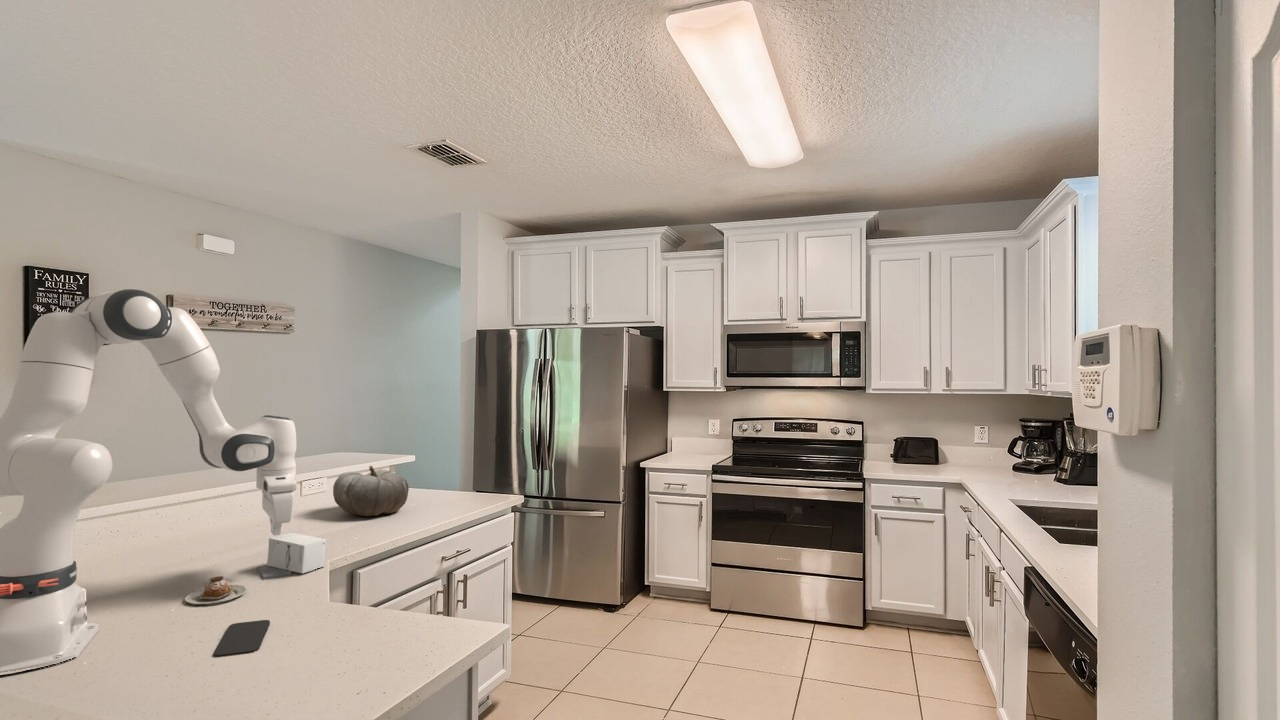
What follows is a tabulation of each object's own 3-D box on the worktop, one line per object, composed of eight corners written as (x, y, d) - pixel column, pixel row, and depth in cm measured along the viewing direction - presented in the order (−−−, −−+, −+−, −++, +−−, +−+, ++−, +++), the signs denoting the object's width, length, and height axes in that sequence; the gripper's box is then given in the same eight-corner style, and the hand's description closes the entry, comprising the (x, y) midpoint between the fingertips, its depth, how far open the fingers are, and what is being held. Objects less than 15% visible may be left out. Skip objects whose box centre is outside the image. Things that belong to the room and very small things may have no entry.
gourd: (312, 510, 224) (323, 459, 226) (362, 507, 248) (372, 460, 250) (372, 524, 217) (383, 471, 219) (418, 519, 240) (428, 472, 242)
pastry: (259, 592, 155) (259, 573, 155) (213, 611, 143) (213, 590, 143) (219, 587, 158) (219, 567, 158) (171, 604, 147) (171, 584, 147)
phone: (211, 655, 121) (229, 623, 135) (211, 660, 121) (229, 627, 135) (258, 649, 123) (271, 619, 137) (258, 654, 123) (271, 623, 137)
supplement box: (267, 537, 171) (304, 544, 166) (292, 532, 178) (327, 538, 173) (265, 566, 170) (302, 574, 166) (289, 559, 177) (325, 567, 173)
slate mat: (290, 574, 166) (290, 572, 166) (263, 579, 163) (263, 576, 163) (283, 564, 174) (283, 562, 174) (257, 568, 171) (257, 566, 171)
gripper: (256, 474, 173) (255, 527, 173) (268, 487, 157) (268, 545, 157) (283, 472, 177) (282, 523, 177) (298, 484, 161) (297, 541, 161)
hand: (275, 534), depth 167 cm, fingers closed
